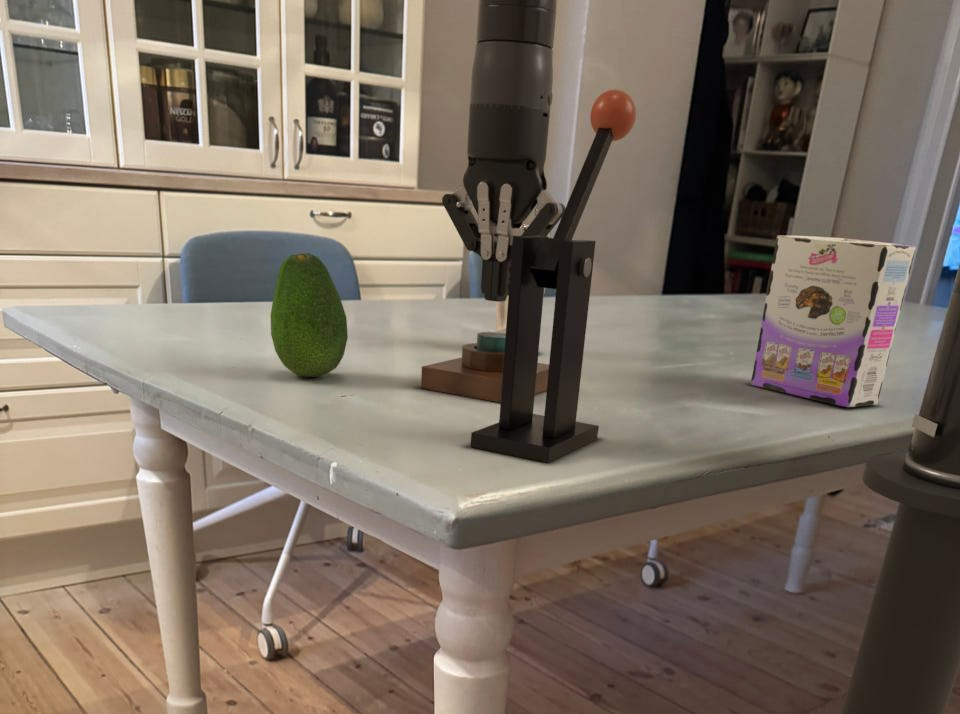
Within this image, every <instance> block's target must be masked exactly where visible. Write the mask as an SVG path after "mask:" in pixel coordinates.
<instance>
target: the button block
mask: <svg viewBox="0 0 960 714" xmlns="http://www.w3.org/2000/svg"><path fill="white" fill-rule="evenodd" d="M461 348H462V349H461V350H462V351H461V357H458V358H453V359H449V360H444V361H439V362H436V363H431V364H427V365H423V366H421V380H420V388H421V389H423V390H429V391H434V392H440V393H445V394H451V395H457V396H462V397H468V398H473V399H479V400H485V401H489V402H490V401H491V402H494V403H495V402H496V403H500V404H501V392H502V378H503V364H504V352H491V351H483V350H478V349H477V342H475V343H474V342H473V343H467V344H462V347H461ZM548 372H549V363H543V362H538V363H537V374H536V385H535V395H537V394H539V393H543V392H545V391H546V392H547V382H548Z"/></svg>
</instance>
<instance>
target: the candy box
mask: <svg viewBox="0 0 960 714" xmlns="http://www.w3.org/2000/svg"><path fill="white" fill-rule="evenodd" d="M916 248H917V246H915V245H908V244H900V243H894V242H893V243H892V242H884V241H875V240H865V239H854V238H846V237H845V238H844V237H833V236H832V237H831V236H815V235H814V236H813V235H779V234H778V235H777V236H776V239H775V246H774V250H773V251H774V252H773V258H772V262H771V267H770V274H769V280H768V285H767V291H766V296H765V300H764V307H763V313H762V319H761V323H760V324H761V325H760V330H759V334H758V335H759V337H758V342H757V347H756V353H755V359H754V364H753V369H752V374H751V378H750V385H751V386H755V387H759V388H762V389H767V390H772V391H776V392H780V393H784V394H788V395H793V396H796V397H800V398H805V399H810V400H814V401H817V402H822V403H827V404H831V405H834V406H839V407H845V408H857V407H863V406H864V407H866V406H867V407H868V406H877V405H878V402H879V399H880V394H881V391H882V386H883V383H884V378H885V375H886V370H887V366H888V362H889V358H890V356H891V355H890V354H891V350H892V346H893V342H894V338H895V334H896V329H897V326H898V323H899V318H900V315H901V311H902V304H903V301H904V297H905V293H906V290H907V285H908V282H909V277H910V272H911V270H912V269H911V268H912V263H913V260H914V258H915V257H914V256H915V252H916Z"/></svg>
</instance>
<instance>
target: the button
mask: <svg viewBox="0 0 960 714" xmlns="http://www.w3.org/2000/svg"><path fill="white" fill-rule="evenodd" d="M505 337H506V334H505V333H497V332H495V331H481V332H478V333H477V335H476V343H477V349H478V350H483V351H491V352H504V351H505Z"/></svg>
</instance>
